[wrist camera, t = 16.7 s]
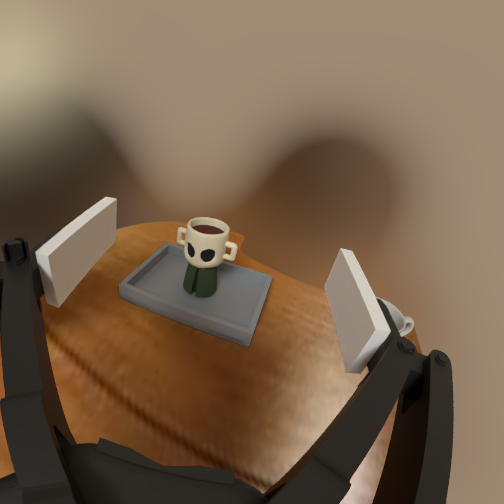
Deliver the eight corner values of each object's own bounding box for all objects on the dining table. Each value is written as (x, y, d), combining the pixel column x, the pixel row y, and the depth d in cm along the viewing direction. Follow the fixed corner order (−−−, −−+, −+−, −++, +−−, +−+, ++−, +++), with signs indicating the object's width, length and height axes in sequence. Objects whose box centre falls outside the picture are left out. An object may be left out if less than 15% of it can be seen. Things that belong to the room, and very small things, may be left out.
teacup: (336, 355, 45) (355, 322, 41) (337, 318, 55) (353, 286, 51) (402, 372, 43) (425, 342, 40) (395, 335, 53) (414, 306, 49)
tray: (119, 297, 46) (118, 284, 45) (165, 253, 62) (166, 242, 60) (248, 347, 43) (252, 334, 42) (269, 287, 59) (273, 276, 58)
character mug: (164, 289, 50) (169, 224, 44) (181, 270, 56) (188, 210, 50) (220, 310, 48) (233, 244, 42) (232, 288, 55) (246, 227, 49)
